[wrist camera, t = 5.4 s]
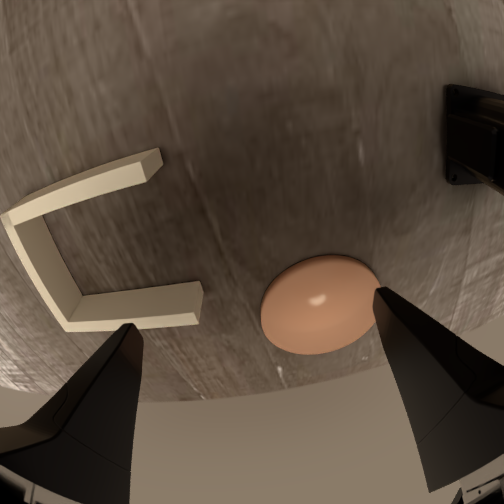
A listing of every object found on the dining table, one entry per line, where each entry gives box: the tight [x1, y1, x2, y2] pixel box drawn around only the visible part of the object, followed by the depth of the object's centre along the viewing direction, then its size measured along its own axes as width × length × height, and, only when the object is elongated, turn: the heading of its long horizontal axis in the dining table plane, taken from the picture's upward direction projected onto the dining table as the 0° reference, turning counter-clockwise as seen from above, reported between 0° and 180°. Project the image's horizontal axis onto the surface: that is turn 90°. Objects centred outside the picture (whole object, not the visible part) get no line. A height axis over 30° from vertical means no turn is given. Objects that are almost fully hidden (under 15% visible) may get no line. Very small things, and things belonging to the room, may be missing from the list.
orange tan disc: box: [260, 255, 381, 354], centre depth 20 cm, size 9×9×1 cm
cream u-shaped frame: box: [0, 147, 204, 332], centre depth 16 cm, size 11×10×3 cm
